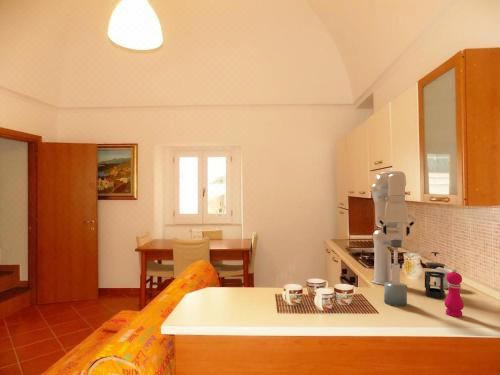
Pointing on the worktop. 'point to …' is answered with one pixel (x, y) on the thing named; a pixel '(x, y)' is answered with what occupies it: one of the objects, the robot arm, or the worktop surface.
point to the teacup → (443, 278)
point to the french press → (435, 292)
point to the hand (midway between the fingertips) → (396, 234)
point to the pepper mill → (454, 295)
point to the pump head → (396, 248)
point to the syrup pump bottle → (395, 289)
